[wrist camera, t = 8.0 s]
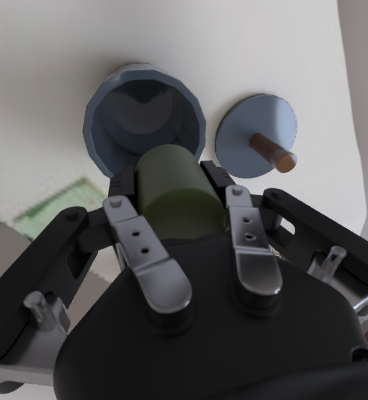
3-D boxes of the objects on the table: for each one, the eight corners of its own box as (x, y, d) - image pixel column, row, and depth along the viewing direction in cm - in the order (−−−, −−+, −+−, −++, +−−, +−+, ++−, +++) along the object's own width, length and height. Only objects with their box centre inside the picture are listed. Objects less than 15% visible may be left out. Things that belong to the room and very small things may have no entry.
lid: (239, 79, 30) (275, 89, 22) (308, 111, 34) (358, 129, 27) (201, 164, 36) (220, 195, 28) (264, 182, 40) (295, 213, 33)
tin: (144, 134, 14) (152, 178, 9) (208, 154, 15) (242, 199, 11) (127, 195, 16) (127, 254, 11) (185, 206, 17) (205, 262, 13)
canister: (106, 45, 25) (95, 44, 17) (200, 85, 29) (225, 99, 22) (89, 143, 31) (75, 176, 23) (170, 165, 35) (182, 199, 27)
